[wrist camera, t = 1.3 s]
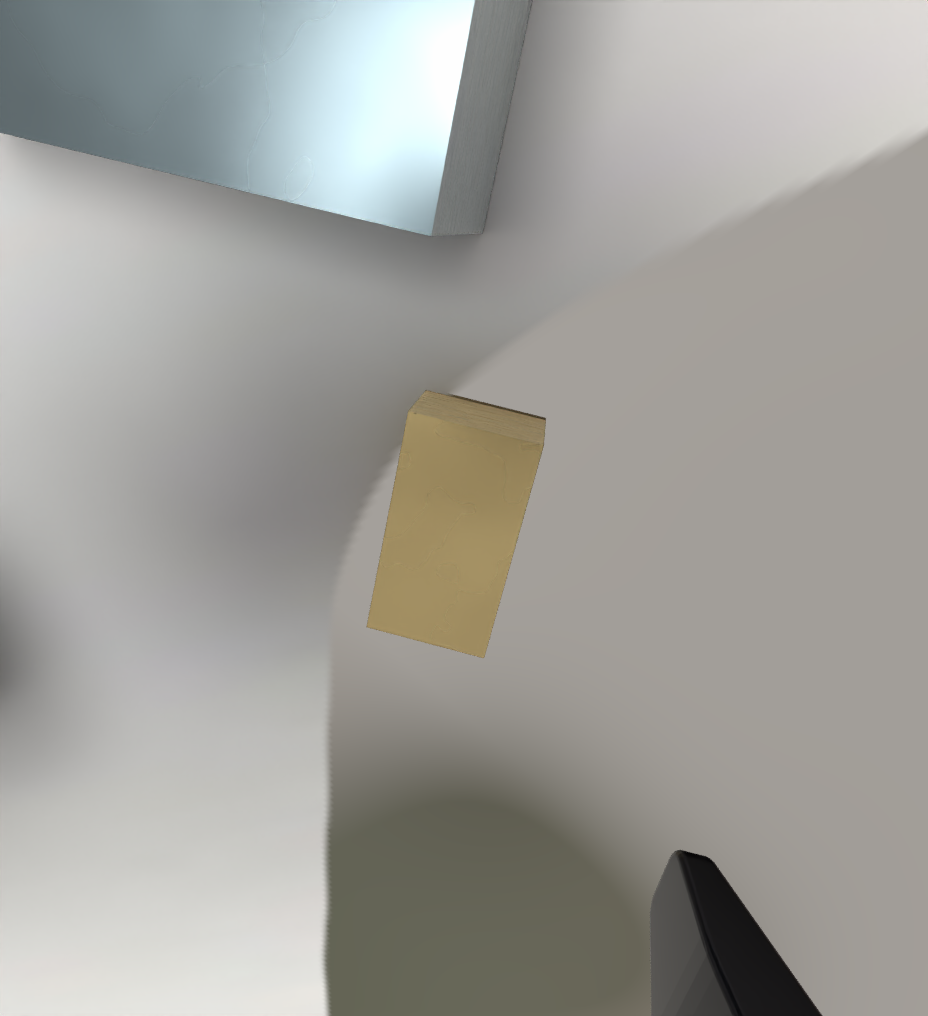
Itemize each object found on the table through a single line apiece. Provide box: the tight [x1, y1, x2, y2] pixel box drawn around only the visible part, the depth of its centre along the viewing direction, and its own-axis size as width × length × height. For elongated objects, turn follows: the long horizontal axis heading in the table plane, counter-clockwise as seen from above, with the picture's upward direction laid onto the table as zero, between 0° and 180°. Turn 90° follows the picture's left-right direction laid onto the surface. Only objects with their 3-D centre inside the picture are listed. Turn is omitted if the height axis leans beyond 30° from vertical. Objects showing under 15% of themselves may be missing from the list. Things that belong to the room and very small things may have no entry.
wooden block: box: [367, 390, 546, 658], centre depth 18 cm, size 6×3×2 cm, turn 167°
